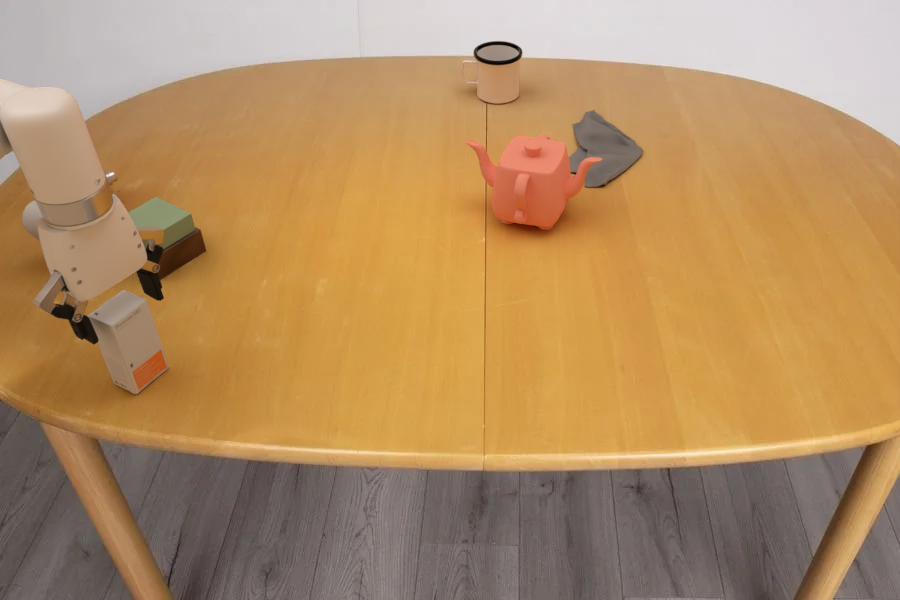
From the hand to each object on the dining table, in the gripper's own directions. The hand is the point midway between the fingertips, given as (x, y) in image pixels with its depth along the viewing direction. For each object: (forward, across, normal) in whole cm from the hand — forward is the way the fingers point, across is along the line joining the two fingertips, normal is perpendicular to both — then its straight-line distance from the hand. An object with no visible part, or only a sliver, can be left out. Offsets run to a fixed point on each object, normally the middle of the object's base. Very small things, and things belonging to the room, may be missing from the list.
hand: (122, 317), depth 108 cm
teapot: (+11, -61, +20) cm, 65 cm away
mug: (+11, -91, -8) cm, 92 cm away
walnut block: (+10, -19, -20) cm, 29 cm away
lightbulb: (+10, -9, -30) cm, 33 cm away
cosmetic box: (+11, 0, 0) cm, 11 cm away
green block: (+6, -19, -19) cm, 28 cm away
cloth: (+12, -85, +20) cm, 88 cm away
